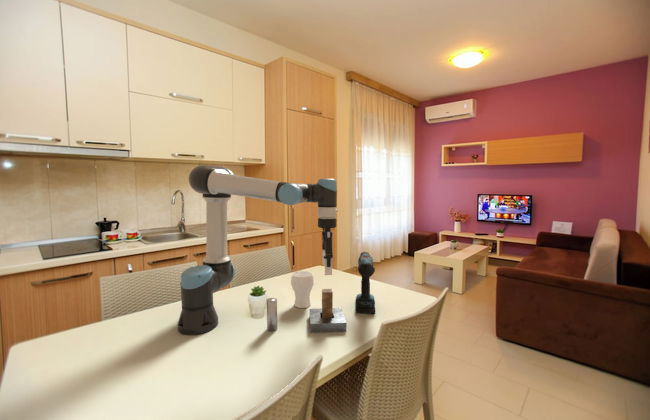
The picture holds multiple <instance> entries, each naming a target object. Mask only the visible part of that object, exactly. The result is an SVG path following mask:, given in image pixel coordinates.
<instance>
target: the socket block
mask: <svg viewBox="0 0 650 420" xmlns="http://www.w3.org/2000/svg"><path fill="white" fill-rule="evenodd" d="M345 316H346V315H345V313H344V311H343V307H333V317H332V318H324V319H322V308H309V328H310V333H311V334H313V333H314V334H315V333H316V334H317V333H335V332H336V333H337V332H343V333H344V332H347V330H348V329H347V320H346V317H345Z"/></svg>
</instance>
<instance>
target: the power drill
mask: <svg viewBox="0 0 650 420" xmlns="http://www.w3.org/2000/svg"><path fill="white" fill-rule="evenodd" d="M373 260H374V259H373V258H372V256H371V255H370V253H369V252H368V251H362V252H361V253H360V255H359V258H358V260H357V262H358V266H357V270H358V271H357V272H358V274H359V275H360V276H361V280H360V281H361V282H360V284H361V286H360V292H361V293H358V294H356V296H355V313H356V314H361V315H362V314H365V315H375V314H376V301H375V296H374V295H373V294H371V282H370V278H371V277H372V276H373V275H374V273H375V270H376V268H375V267H374V261H373Z"/></svg>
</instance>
